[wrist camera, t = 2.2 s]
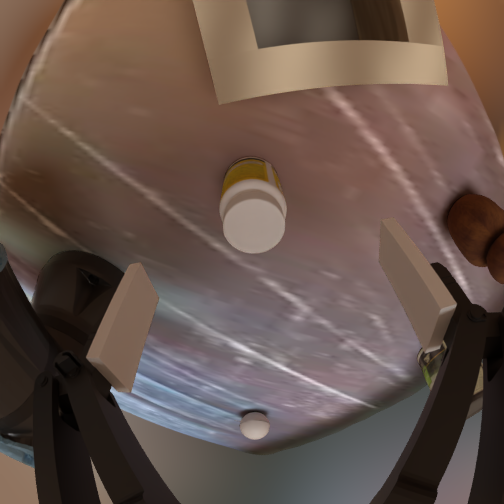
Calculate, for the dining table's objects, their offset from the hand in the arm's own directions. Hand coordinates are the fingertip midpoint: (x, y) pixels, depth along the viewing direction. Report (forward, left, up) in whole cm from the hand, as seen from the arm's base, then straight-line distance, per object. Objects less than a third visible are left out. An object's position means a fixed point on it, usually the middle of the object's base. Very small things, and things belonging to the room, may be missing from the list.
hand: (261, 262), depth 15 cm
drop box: (+6, +14, -12) cm, 19 cm away
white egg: (-9, -43, -12) cm, 46 cm away
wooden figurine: (+23, -7, -12) cm, 27 cm away
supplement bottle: (0, 0, -12) cm, 12 cm away
